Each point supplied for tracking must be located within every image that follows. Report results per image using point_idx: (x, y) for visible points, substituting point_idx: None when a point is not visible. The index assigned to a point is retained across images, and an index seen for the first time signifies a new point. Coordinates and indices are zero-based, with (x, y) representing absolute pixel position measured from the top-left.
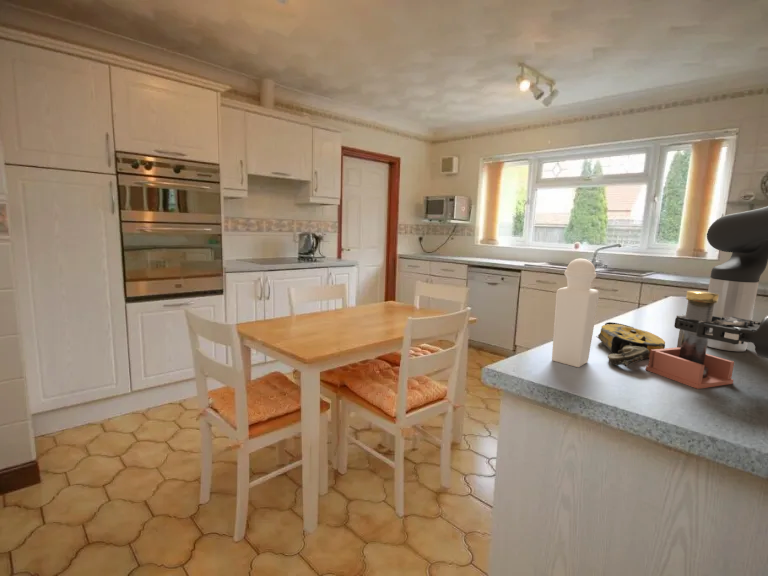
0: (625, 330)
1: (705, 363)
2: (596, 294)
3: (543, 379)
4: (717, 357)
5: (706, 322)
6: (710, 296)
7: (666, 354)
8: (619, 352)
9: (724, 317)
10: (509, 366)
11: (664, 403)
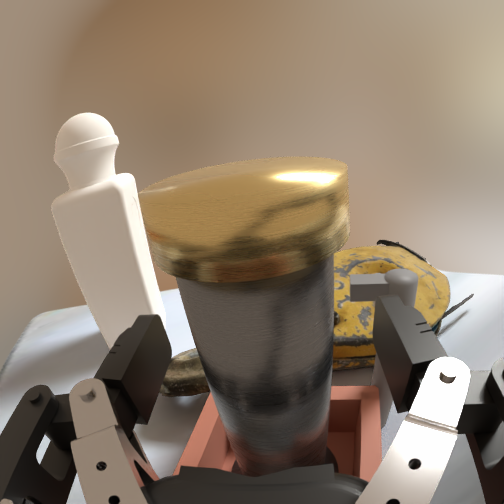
0: (371, 270)
1: None
2: (96, 197)
3: (27, 353)
4: None
5: (71, 408)
6: (157, 216)
7: (203, 418)
8: None
9: (437, 373)
10: (55, 317)
11: None
